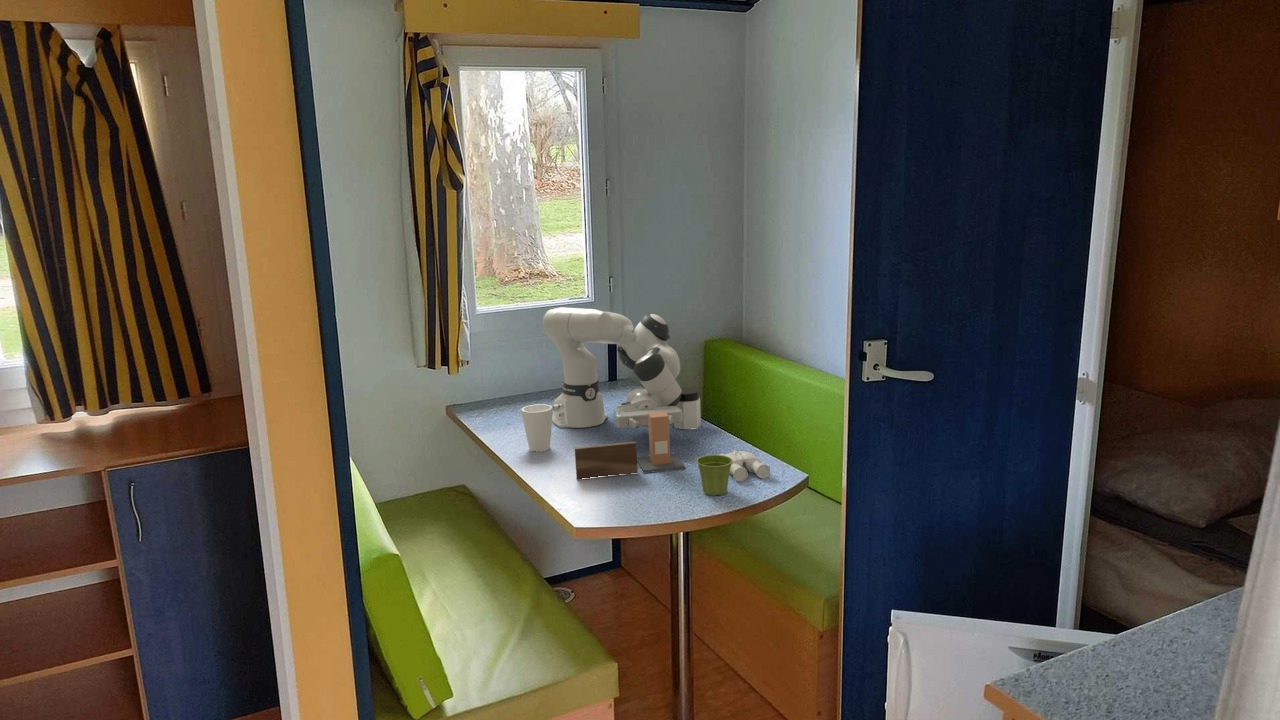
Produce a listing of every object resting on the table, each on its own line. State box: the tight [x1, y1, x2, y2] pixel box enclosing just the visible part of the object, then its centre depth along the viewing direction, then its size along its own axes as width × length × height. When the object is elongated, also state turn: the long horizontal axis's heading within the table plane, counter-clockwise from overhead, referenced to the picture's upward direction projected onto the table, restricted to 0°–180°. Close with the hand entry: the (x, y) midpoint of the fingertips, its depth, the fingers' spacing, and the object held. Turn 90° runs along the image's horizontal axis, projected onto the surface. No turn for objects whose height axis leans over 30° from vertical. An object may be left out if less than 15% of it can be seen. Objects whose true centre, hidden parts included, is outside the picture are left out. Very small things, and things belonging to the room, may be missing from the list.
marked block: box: [648, 412, 671, 465], centre depth 255 cm, size 5×5×14 cm
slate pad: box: [637, 452, 686, 473], centre depth 257 cm, size 12×12×1 cm
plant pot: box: [696, 454, 733, 496], centre depth 232 cm, size 9×9×9 cm
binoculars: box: [719, 450, 771, 483], centre depth 248 cm, size 10×16×5 cm, turn 14°
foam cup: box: [520, 403, 554, 453], centre depth 275 cm, size 10×9×13 cm
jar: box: [673, 387, 702, 430], centre depth 291 cm, size 9×8×12 cm
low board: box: [574, 441, 639, 480], centre depth 248 cm, size 2×17×9 cm, turn 100°
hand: (652, 423), depth 262 cm, fingers open, 8 cm apart
